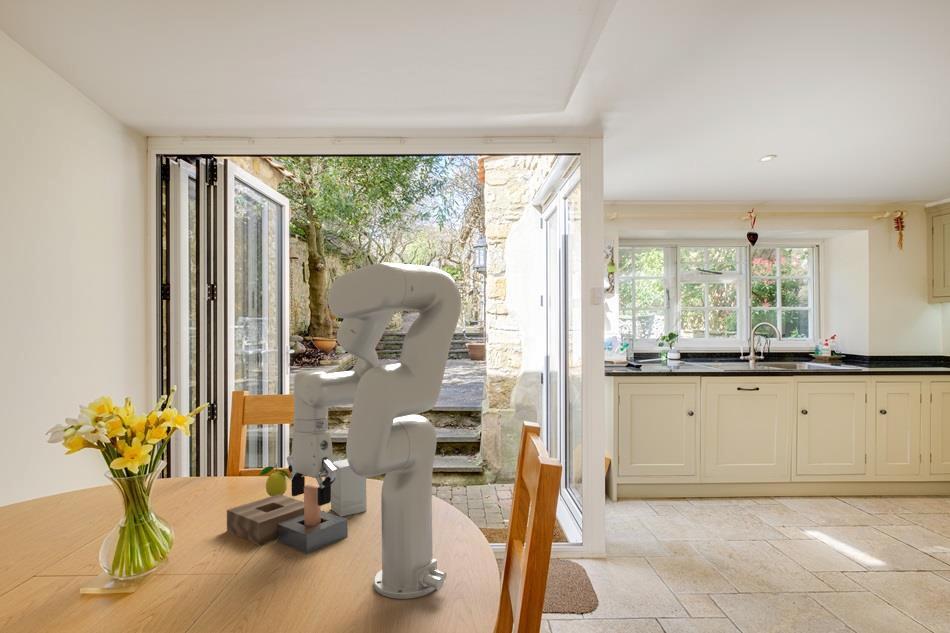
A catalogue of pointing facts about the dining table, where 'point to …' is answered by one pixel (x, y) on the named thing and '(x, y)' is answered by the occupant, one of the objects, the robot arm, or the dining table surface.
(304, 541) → the pin mount
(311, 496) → the pin
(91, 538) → the dining table surface
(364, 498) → the supplement box
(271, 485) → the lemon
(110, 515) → the dining table surface
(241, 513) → the socket block
